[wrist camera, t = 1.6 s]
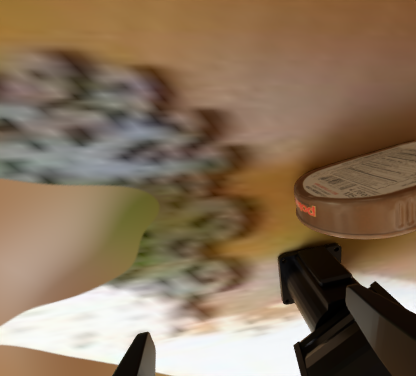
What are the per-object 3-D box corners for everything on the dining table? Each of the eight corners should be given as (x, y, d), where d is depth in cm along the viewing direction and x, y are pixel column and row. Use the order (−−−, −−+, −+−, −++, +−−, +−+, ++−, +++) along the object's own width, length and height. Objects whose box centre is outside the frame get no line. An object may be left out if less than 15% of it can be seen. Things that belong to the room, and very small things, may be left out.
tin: (280, 204, 21) (338, 263, 13) (275, 173, 19) (335, 218, 12) (434, 158, 20) (590, 189, 13) (437, 125, 19) (611, 136, 11)
